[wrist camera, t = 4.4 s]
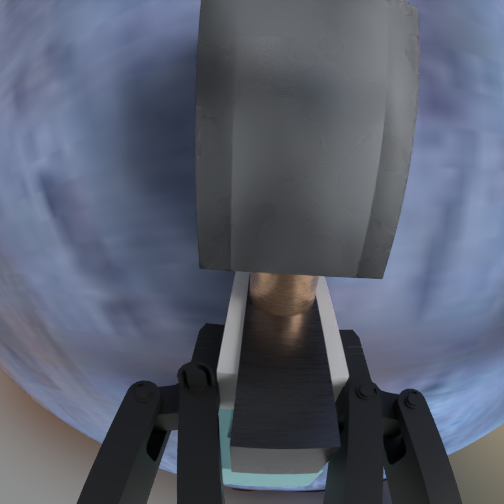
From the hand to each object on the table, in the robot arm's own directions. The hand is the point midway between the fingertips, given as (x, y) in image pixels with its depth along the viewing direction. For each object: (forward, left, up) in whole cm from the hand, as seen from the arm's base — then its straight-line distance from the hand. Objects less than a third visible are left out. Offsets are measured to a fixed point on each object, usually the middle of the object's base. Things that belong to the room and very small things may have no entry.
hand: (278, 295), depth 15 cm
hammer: (-3, 0, 0) cm, 4 cm away
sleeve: (-9, 0, -1) cm, 9 cm away
